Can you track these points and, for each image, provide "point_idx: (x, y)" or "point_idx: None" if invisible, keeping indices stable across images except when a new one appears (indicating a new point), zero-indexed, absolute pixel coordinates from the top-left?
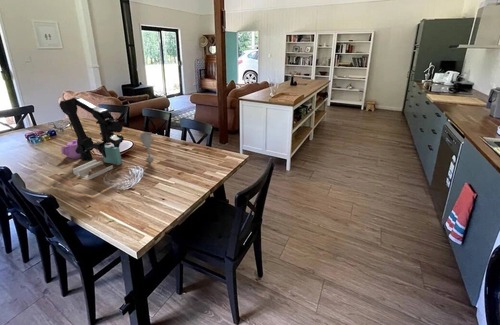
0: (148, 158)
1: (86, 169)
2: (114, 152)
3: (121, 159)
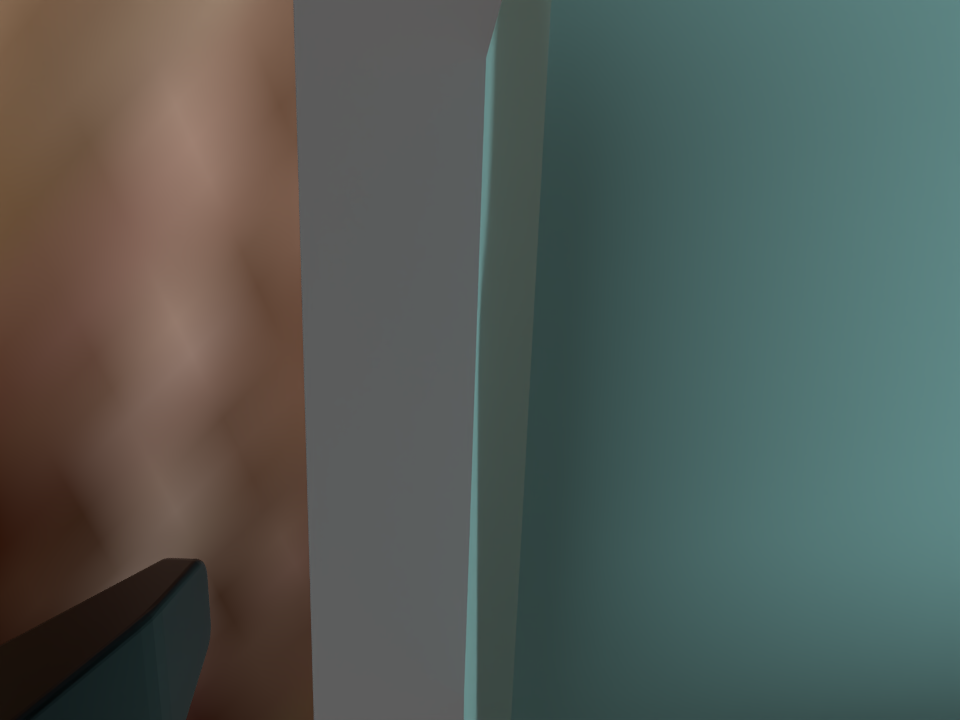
0: None
1: None
2: None
3: (490, 43)
